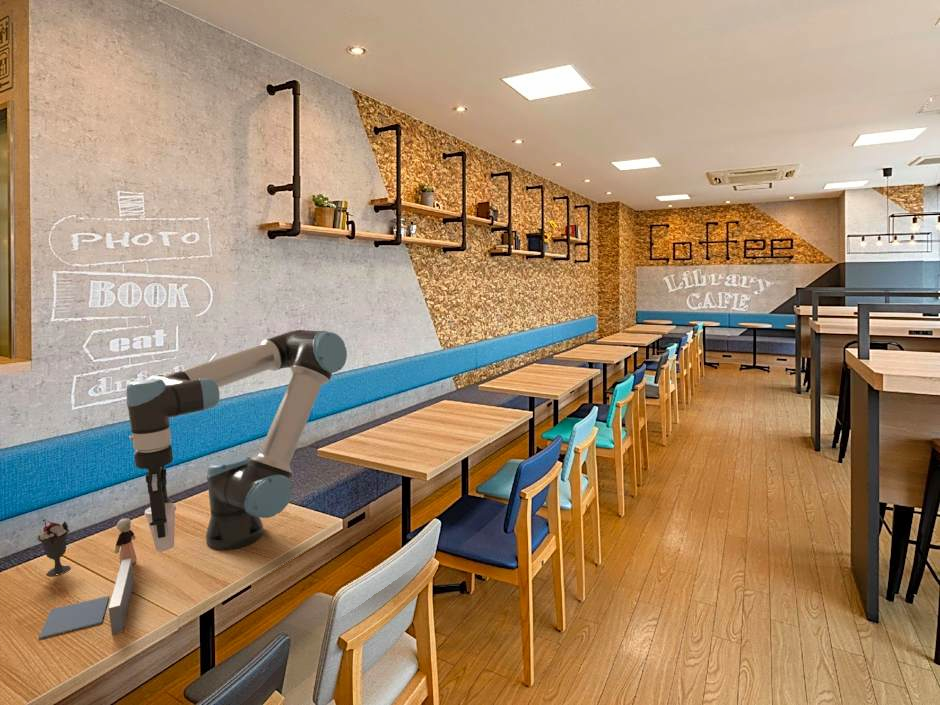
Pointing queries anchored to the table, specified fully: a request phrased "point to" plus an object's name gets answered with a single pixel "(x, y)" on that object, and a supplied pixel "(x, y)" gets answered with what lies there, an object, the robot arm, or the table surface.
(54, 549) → the sundae
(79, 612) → the mat
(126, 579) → the divider wall
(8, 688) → the table surface
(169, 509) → the smoothie
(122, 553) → the grandmother figurine
